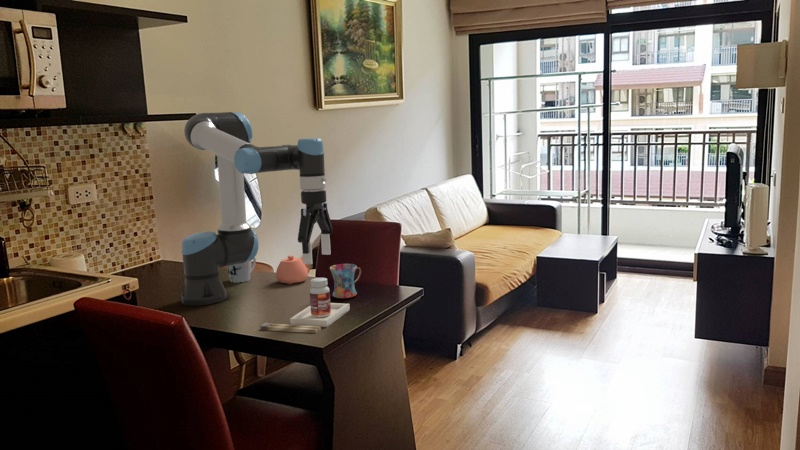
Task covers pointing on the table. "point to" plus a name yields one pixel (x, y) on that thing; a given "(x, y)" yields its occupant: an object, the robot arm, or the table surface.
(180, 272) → the table surface
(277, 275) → the pink teapot
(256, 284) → the table surface
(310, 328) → the tongs
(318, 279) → the pill bottle
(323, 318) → the tray
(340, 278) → the mug
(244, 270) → the mug
